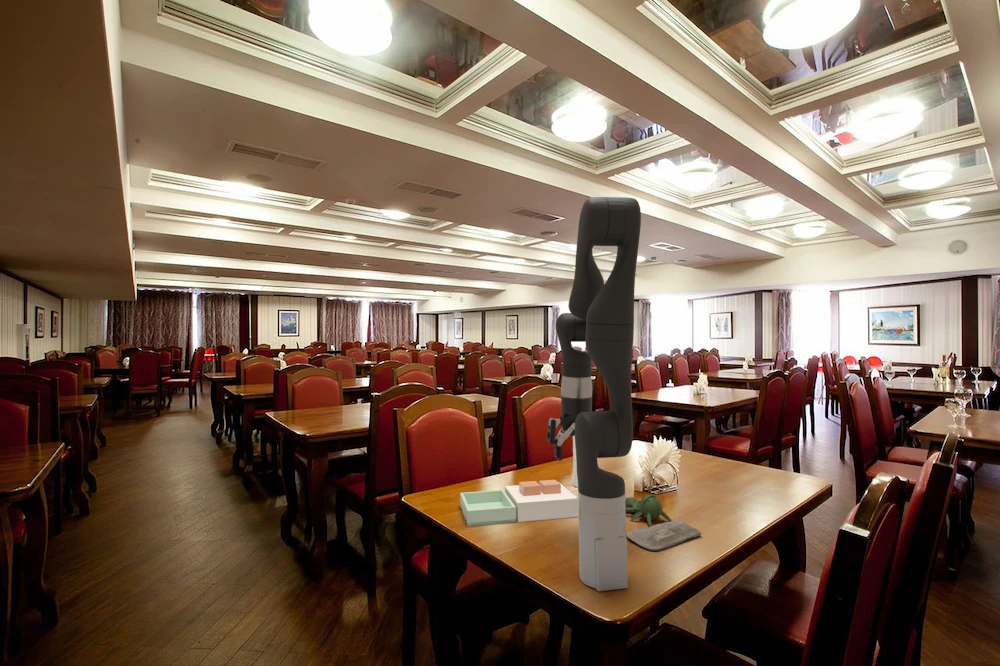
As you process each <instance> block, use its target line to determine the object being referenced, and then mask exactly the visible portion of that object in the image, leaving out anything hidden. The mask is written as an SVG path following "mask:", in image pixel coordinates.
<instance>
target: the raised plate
mask: <svg viewBox="0 0 1000 666" xmlns="http://www.w3.org/2000/svg"><path fill="white" fill-rule="evenodd" d="M560 484H561V483H560ZM504 491H505V493H506V494H507V495H508V497H509V498H510V499H511V501H512V502H513V504H514V505H515V506H516V522H517V523H522V522H523V523H524V522H534V521H544V520H545V521H546V520H548V521H549V520H557V519H568V518H579V513H578V496H576V495H575V494H574V493H572V492H571V491H570V490H569V489H567V487H565V486H564V485H563V484H561V493H557V494H543V493H542V492H541V495H531V496H523V495H522V494H521V492H520V491H519V484H518V485H515V484H514V485H504Z"/></svg>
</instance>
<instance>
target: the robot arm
mask: <svg viewBox="0 0 1000 666" xmlns="http://www.w3.org/2000/svg"><path fill="white" fill-rule="evenodd" d="M641 227H642V214H641V206H640V203H639V201H638V200H637V199H636V198H633V197H625V196H624V197H623V196H620V197H619V196H592V197H589V198H587V199H585V201H584V203H583V205H582V208H581V210H580V214H579V220H578V230H577V237H576V238H577V241H576V248H575V249H576V251H575V267H574V278H573V282H572V283H573V284H572V287H571V291H570V296H569V299H568V310H569V312H563V313H561V314H560V315H559V316H557V318H556V321H555V330H556V335H557V340H558V341H559V346H560V350H561V358H562V360H561V361H562V369H561V370H562V375H561V376H562V377H561V383H560V384H561V387H560V417H559V418H553V417H549V418H547V432H546V440H547V442H548V443H549V444H551V445H554V446H553V447H554V448H553V452H554V453H553V454H554V455H553V456H554V458H555V459H556V460H557V461H559V462H562V461H563V443H564V442H565V440H567V439H568V438H569V437H570V436H571V437H573V436H575V447H576V461H577V478H578V488H577V490H578V493H577V494H578V495H577V498H578V557H579V559H578V561H579V565H578V566H579V579H580V581H581V582H582V583H583V584H584V585H586V586H588V587H590V588H594V589H595V590H596V591H597V592H605V591H612V590H621V589H628V579H629V578H628V548H627V547H628V541H627V540H628V539H627V535H626V533H627V529H626V528H627V527H626V525H627V524H626V522H627V521H626V520H627V519H626V512H625V500H626V499H625V498H626V483H625V479H624V478H623V477H622V476H620V475H619V474H616V473H615V472H612V471H607V470H605V469H602V468H601V467H599V464H598V462H599V461H598V459H602V458H603V459H604V458H606V459H607V458H622V457H623V458H624V457H626V456H627V455H628V454H629V453H630V452H631V449H632V446H633V436H634V430H633V429H634V426H633V425H634V424H633V404H632V403H633V402H632V365H633V348H634V347H633V346H634V332H635V331H634V330H635V328H634V327H635V325H634V324H635V285H636V271H637V262H638V253H639V245H640V244H639V243H640V237H641V236H640V235H641ZM594 246H596V247H617V248H616V249H617V250H616V257H615V260H614V265H613V267H612V269H611V272H610V273H609V276H608V278H607V280H606V281H605V279H604V277H603V274H602V272H601V270H600V268H599V267H598V264H597V263H596V261H595V258H594V255H593V248H594ZM573 342H576V343H577V342H580V343H582V342H584V343H585V348H586V351H581V350H577V349H575V348H574V347H573V345H572V343H573ZM592 364H594V366H595V367H596V369H597V371H598V372H599V373H600V375H601V377H602V378H603V379H602V380H603V381H604V383H605V385H606V388H607V391H608V396H609V410H597V411H595V410H594V411H593V381H592ZM559 424H560V426H561V427H560V429H559V430H558V434H557V435H556V430H557V428H558V426H559Z"/></svg>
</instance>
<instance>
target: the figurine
mask: <svg viewBox="0 0 1000 666" xmlns="http://www.w3.org/2000/svg"><path fill="white" fill-rule="evenodd" d="M626 512H629V513H632V512H633V513H634V514H633V515H632V517H631V518H630V519H629V522H633V521H636V520H637V519H640V517H641V516H642V515H643V516H644V517H646V521H647V525H648V527H651V526H653V524H652V520H654V521H656V520H657V519H659V517H660V516H662V517H663V518H664V519H665V520H667V522H670V521H673V520H672V519H671V518H670V517H669V515H668V514H667V513H666V512H665V511H664V510H663V505H662V502H661V501H660V500H659V499H658V498H657V495H654V494H651V495H647V493H645V494H644V495H643V496H642V497H641V499H640V500H637V499H636V498H635V497H633V496H632V497H625V513H626Z"/></svg>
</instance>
